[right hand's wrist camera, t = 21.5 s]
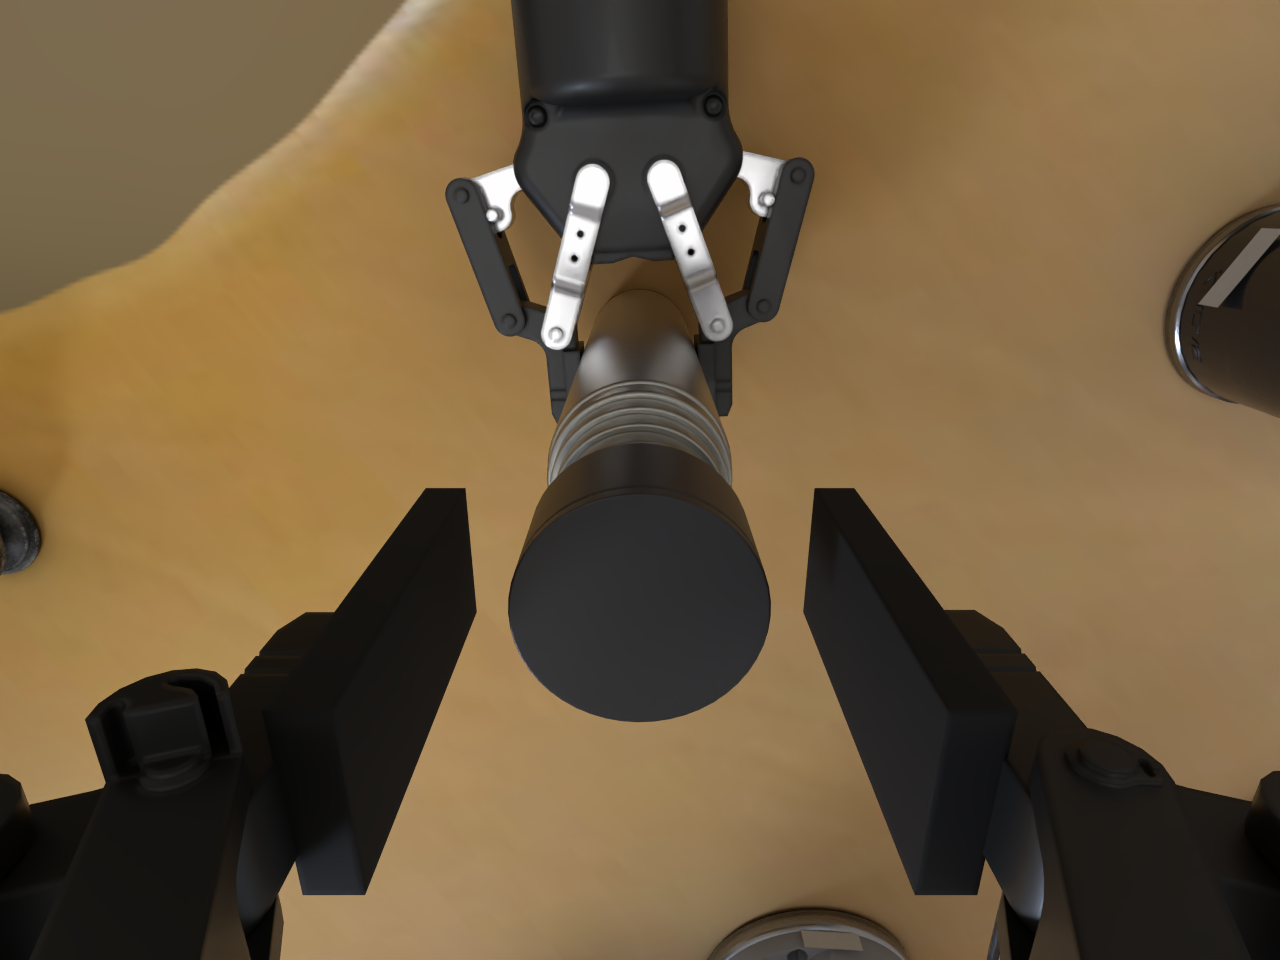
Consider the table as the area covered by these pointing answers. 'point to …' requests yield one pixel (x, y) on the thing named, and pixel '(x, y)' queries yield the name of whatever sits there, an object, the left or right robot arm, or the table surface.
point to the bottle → (639, 388)
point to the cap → (639, 586)
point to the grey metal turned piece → (16, 536)
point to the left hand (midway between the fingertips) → (642, 427)
